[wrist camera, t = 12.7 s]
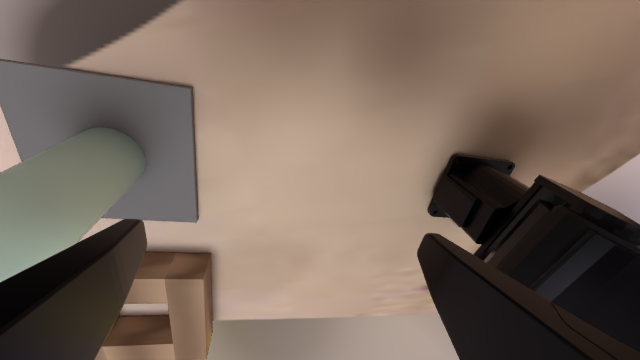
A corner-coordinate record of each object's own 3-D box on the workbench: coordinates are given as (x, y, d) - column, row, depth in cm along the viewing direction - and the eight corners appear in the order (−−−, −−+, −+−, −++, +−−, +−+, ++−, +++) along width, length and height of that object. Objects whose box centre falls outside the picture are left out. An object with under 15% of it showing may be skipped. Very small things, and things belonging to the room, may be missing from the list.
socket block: (211, 253, 25) (203, 279, 22) (212, 331, 30) (206, 359, 27) (60, 249, 22) (32, 278, 20) (92, 335, 28) (72, 366, 25)
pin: (156, 150, 19) (-25, 320, 8) (132, 193, 20) (-52, 394, 9) (87, 114, 17) (-284, 266, 6) (65, 164, 18) (-271, 369, 7)
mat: (192, 87, 18) (190, 89, 17) (198, 218, 23) (196, 222, 22) (-10, 57, 15) (-18, 58, 15) (46, 211, 20) (41, 214, 20)
